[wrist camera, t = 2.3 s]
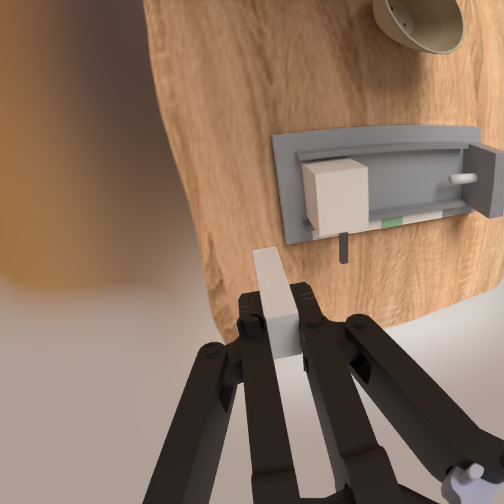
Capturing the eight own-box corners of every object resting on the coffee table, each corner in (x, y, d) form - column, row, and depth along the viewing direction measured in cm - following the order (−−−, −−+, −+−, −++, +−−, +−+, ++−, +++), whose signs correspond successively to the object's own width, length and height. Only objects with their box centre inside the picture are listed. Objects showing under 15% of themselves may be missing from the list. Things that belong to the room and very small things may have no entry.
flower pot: (424, 70, 26) (463, 69, 19) (349, 42, 24) (380, 30, 18) (428, 2, 21) (464, -8, 15) (355, -29, 20) (384, -51, 13)
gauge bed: (271, 135, 29) (283, 144, 23) (474, 126, 29) (512, 137, 22) (284, 240, 35) (298, 273, 28) (470, 208, 35) (502, 229, 28)
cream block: (301, 162, 29) (314, 173, 25) (347, 156, 29) (367, 167, 25) (309, 245, 34) (321, 268, 29) (350, 238, 34) (367, 259, 29)
